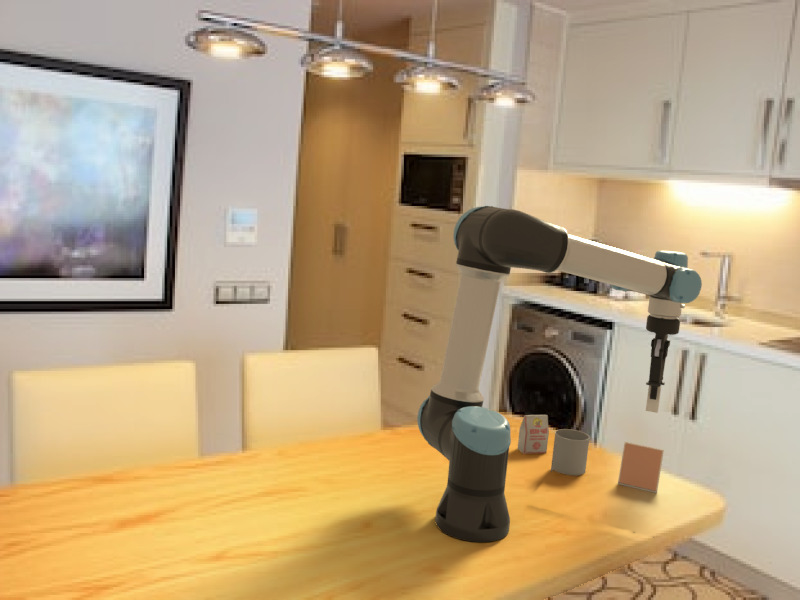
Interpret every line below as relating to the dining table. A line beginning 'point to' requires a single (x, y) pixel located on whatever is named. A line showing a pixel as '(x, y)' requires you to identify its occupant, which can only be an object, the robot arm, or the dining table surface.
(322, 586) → the dining table surface
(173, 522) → the dining table surface
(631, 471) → the tile
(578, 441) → the cup
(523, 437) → the white printed box
